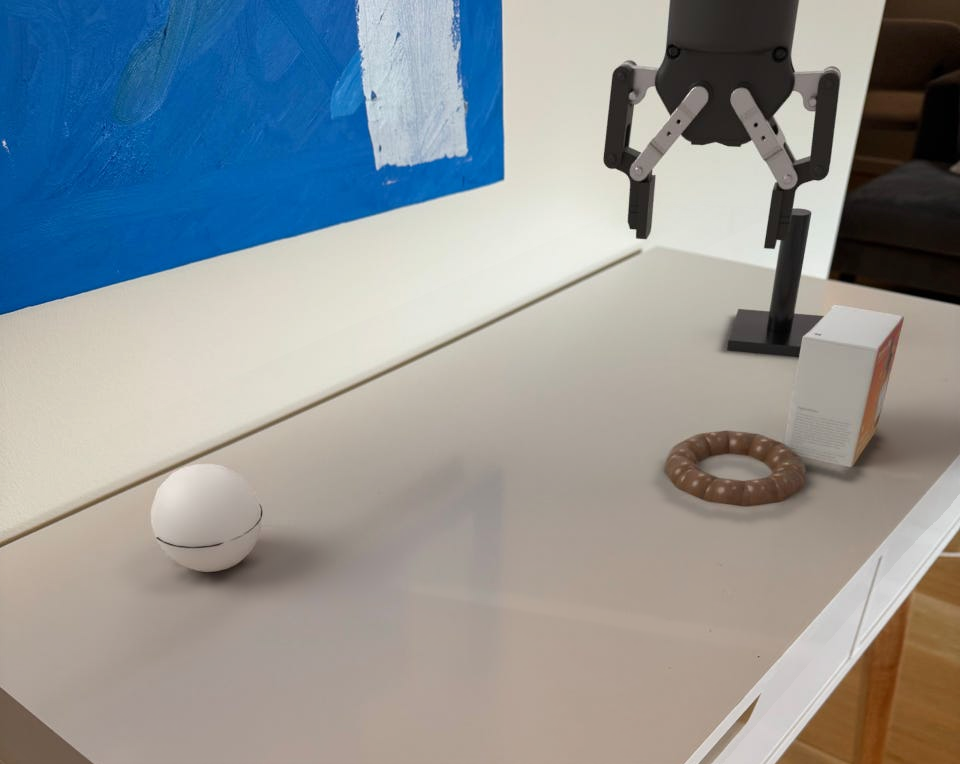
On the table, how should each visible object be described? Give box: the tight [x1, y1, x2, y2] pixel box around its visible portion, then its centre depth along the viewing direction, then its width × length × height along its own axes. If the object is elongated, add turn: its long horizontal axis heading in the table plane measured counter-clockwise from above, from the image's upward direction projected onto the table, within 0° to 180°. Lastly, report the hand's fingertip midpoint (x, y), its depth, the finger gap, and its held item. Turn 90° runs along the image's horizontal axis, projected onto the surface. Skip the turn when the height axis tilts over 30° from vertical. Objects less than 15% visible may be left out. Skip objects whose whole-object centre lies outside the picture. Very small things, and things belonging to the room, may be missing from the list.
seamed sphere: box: [150, 463, 295, 573], centre depth 68 cm, size 10×7×7 cm
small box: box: [783, 304, 905, 468], centre depth 78 cm, size 8×6×10 cm
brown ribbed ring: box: [663, 429, 807, 507], centre depth 77 cm, size 10×10×2 cm
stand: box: [726, 207, 825, 358], centre depth 97 cm, size 9×9×12 cm
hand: (706, 241), depth 68 cm, fingers open, 8 cm apart
